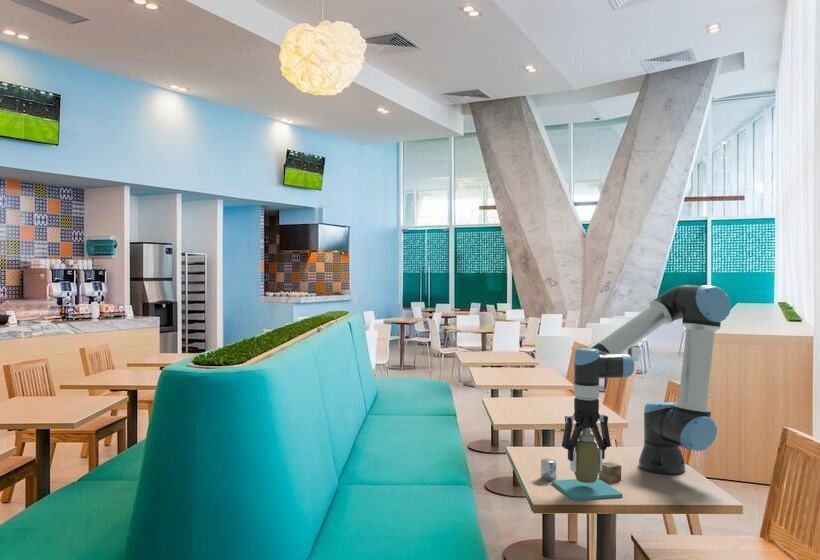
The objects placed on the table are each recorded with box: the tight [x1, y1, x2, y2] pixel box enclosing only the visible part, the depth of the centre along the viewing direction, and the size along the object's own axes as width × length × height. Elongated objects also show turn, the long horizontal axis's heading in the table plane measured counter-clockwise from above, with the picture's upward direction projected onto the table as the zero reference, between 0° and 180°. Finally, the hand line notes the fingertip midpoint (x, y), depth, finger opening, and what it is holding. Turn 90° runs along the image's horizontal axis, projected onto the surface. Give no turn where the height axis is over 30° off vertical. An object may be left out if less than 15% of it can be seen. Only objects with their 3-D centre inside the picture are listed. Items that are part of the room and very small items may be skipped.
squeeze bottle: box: [573, 427, 600, 483], centre depth 201 cm, size 8×8×18 cm
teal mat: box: [551, 477, 623, 501], centre depth 201 cm, size 16×16×1 cm
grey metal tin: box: [540, 458, 557, 482], centre depth 213 cm, size 5×5×6 cm
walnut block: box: [598, 461, 622, 483], centre depth 212 cm, size 5×5×5 cm
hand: (586, 470), depth 201 cm, fingers closed on squeeze bottle, 8 cm apart
